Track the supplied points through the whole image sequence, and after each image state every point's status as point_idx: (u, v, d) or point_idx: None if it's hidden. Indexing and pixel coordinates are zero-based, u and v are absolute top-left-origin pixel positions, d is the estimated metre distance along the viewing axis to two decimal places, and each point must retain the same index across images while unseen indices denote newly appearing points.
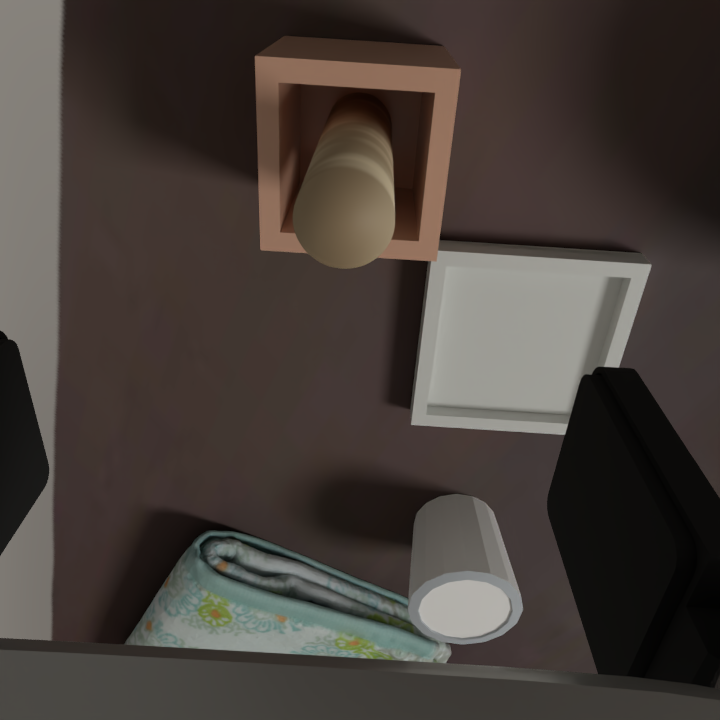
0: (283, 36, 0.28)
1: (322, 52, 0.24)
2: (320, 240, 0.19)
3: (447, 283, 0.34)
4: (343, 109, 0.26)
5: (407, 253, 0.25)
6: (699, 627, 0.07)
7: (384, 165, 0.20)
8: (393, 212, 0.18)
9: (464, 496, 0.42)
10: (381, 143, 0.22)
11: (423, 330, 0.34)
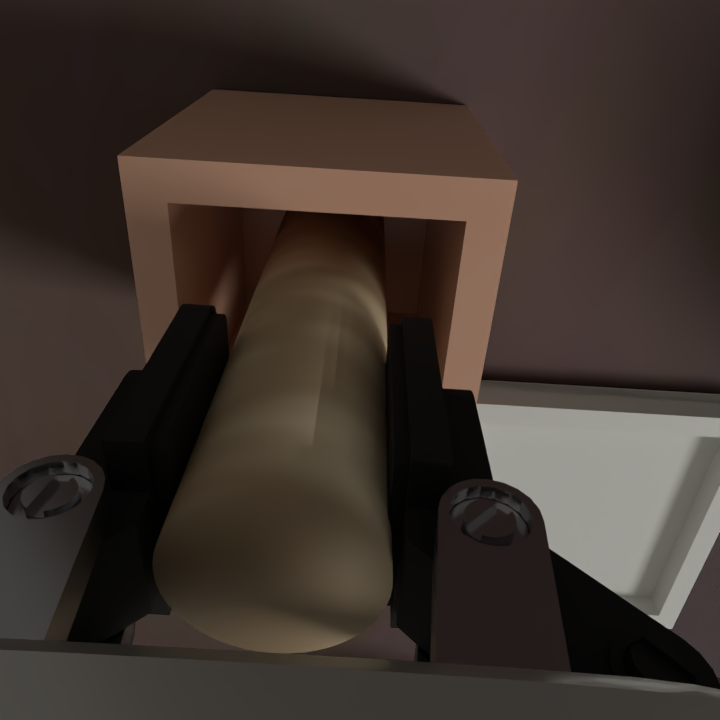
0: None
1: (258, 135, 0.13)
2: (222, 609, 0.08)
3: None
4: (302, 221, 0.15)
5: None
6: (410, 522, 0.08)
7: (369, 400, 0.10)
8: (388, 567, 0.08)
9: None
10: (364, 318, 0.12)
11: None
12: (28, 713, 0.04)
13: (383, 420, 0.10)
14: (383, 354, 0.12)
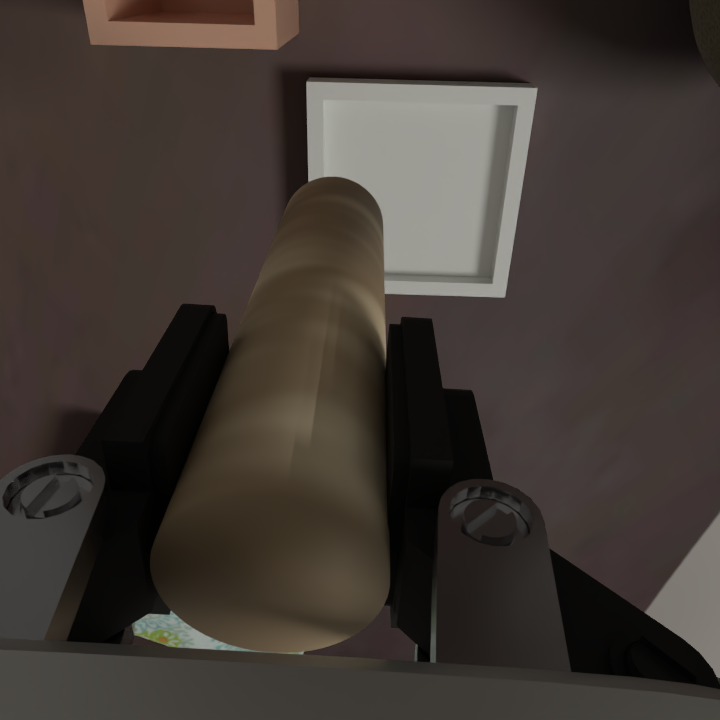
0: None
1: None
2: (220, 608, 0.08)
3: (330, 125, 0.32)
4: (301, 221, 0.15)
5: (245, 41, 0.24)
6: (410, 522, 0.08)
7: (367, 399, 0.10)
8: (386, 567, 0.08)
9: None
10: (363, 318, 0.12)
11: (309, 178, 0.33)
12: (28, 713, 0.04)
13: (381, 419, 0.10)
14: (381, 354, 0.12)
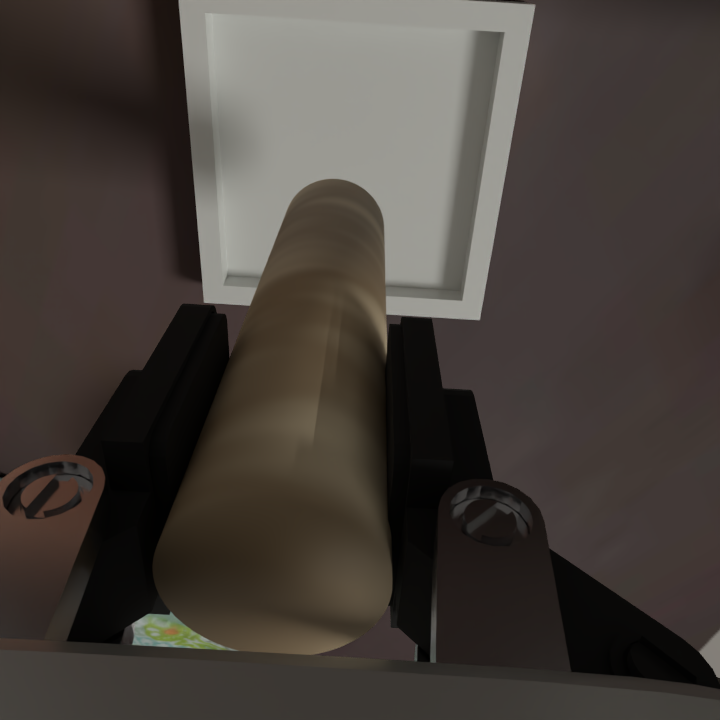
0: None
1: None
2: (222, 612, 0.08)
3: (223, 57, 0.21)
4: (302, 223, 0.15)
5: None
6: (410, 522, 0.08)
7: (369, 403, 0.10)
8: (388, 572, 0.08)
9: None
10: (364, 321, 0.12)
11: (191, 137, 0.22)
12: (28, 713, 0.04)
13: (383, 423, 0.10)
14: (383, 357, 0.12)
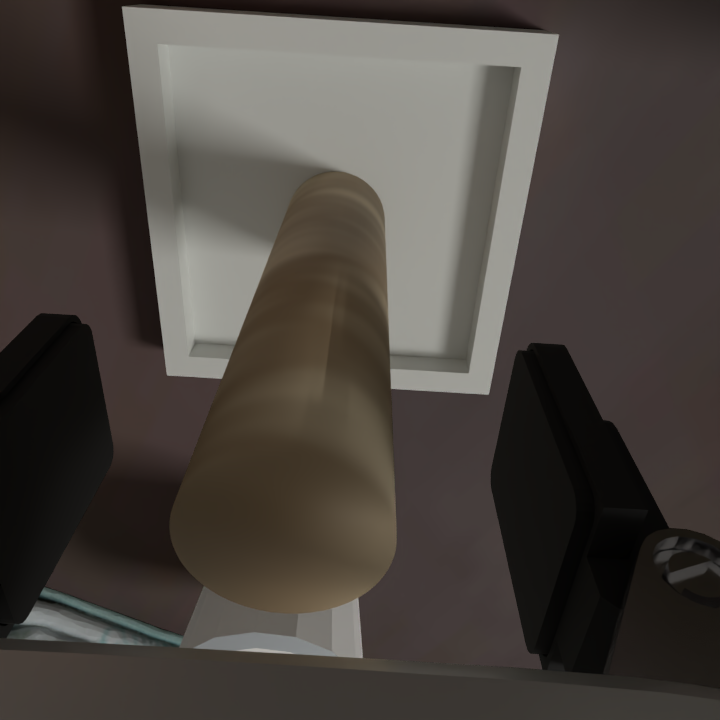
0: None
1: None
2: (235, 569, 0.09)
3: (182, 95, 0.18)
4: (306, 212, 0.16)
5: None
6: (596, 574, 0.07)
7: (372, 375, 0.10)
8: (393, 527, 0.08)
9: None
10: (367, 302, 0.12)
11: (146, 189, 0.18)
12: (28, 713, 0.04)
13: (386, 395, 0.10)
14: (385, 336, 0.12)
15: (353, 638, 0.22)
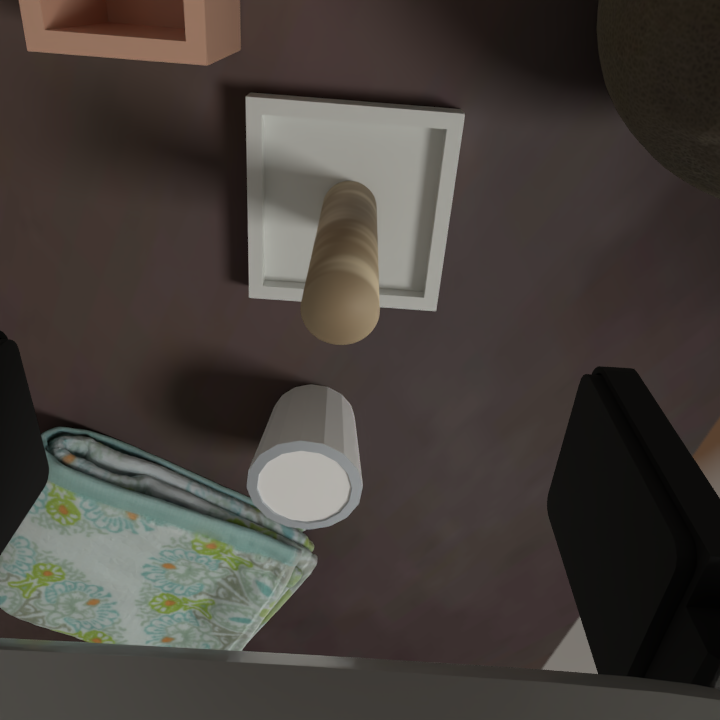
0: None
1: None
2: (321, 323, 0.24)
3: (270, 139, 0.33)
4: (337, 201, 0.31)
5: (176, 56, 0.25)
6: (699, 627, 0.07)
7: (371, 262, 0.26)
8: (378, 304, 0.24)
9: (319, 387, 0.42)
10: (368, 238, 0.28)
11: (248, 188, 0.34)
12: (28, 713, 0.04)
13: (376, 270, 0.26)
14: (376, 253, 0.28)
15: (355, 455, 0.38)
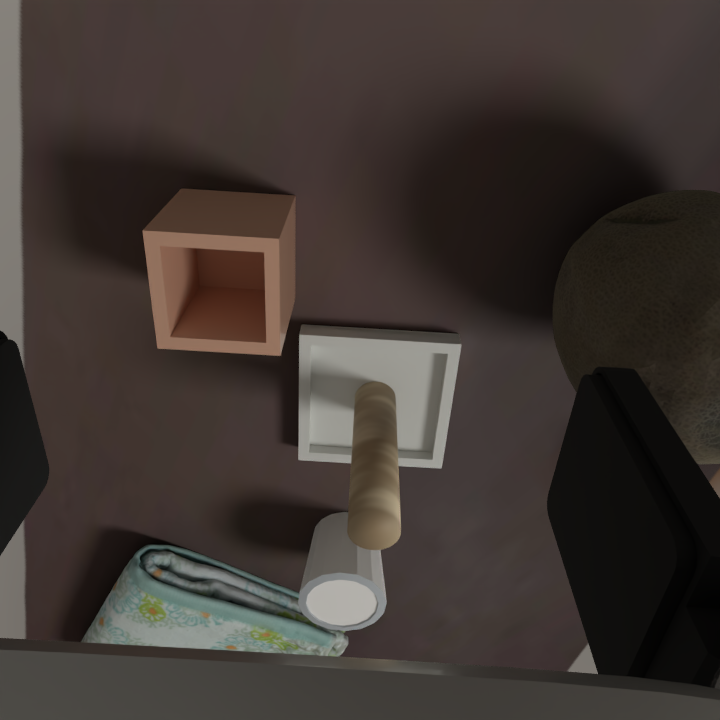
0: (179, 190, 0.39)
1: (194, 218, 0.35)
2: (361, 538, 0.36)
3: (316, 356, 0.45)
4: (367, 411, 0.43)
5: (259, 350, 0.36)
6: (699, 627, 0.07)
7: (394, 487, 0.37)
8: (400, 528, 0.35)
9: None
10: (391, 458, 0.39)
11: (299, 390, 0.45)
12: (28, 713, 0.04)
13: (398, 491, 0.37)
14: (397, 469, 0.39)
15: (380, 577, 0.49)
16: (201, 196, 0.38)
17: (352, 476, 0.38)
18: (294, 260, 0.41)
